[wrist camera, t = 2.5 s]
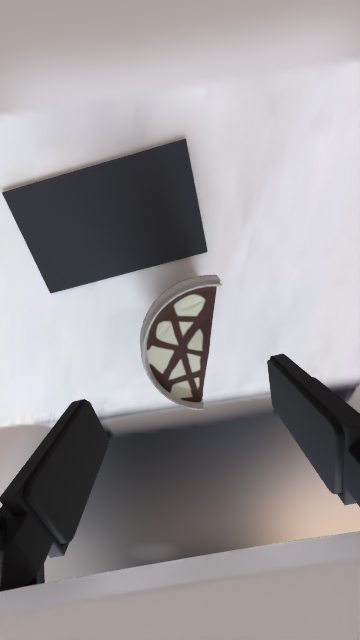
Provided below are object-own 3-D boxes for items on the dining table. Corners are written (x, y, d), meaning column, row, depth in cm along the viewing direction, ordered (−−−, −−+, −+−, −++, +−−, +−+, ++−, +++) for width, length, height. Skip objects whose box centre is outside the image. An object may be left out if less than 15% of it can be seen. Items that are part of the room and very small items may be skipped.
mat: (51, 293, 22) (50, 293, 22) (4, 193, 19) (1, 192, 18) (206, 251, 21) (207, 251, 21) (185, 140, 18) (185, 138, 18)
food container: (151, 268, 22) (135, 270, 12) (201, 271, 22) (223, 276, 12) (149, 357, 25) (135, 413, 16) (192, 359, 26) (203, 415, 16)
